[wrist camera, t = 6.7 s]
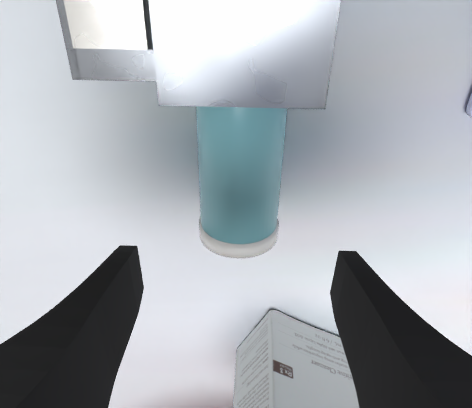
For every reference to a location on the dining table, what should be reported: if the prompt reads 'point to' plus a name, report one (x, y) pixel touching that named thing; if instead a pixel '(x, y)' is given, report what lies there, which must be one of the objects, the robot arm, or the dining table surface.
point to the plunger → (109, 24)
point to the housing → (225, 53)
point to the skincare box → (292, 367)
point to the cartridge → (239, 178)
